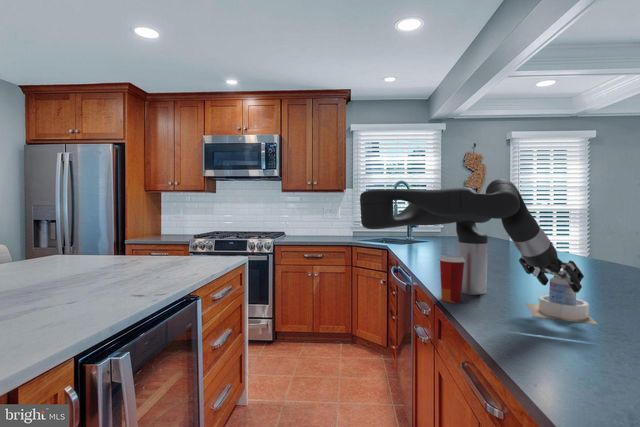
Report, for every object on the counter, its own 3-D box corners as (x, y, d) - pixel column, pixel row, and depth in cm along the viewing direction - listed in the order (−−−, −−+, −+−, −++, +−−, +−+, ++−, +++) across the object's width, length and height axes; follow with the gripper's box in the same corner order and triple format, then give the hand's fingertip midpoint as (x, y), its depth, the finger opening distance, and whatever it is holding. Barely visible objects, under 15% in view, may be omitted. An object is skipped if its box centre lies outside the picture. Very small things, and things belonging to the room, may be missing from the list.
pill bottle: (543, 307, 99) (544, 267, 98) (563, 306, 99) (564, 267, 99) (560, 313, 92) (561, 271, 92) (581, 313, 93) (582, 271, 93)
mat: (533, 318, 93) (533, 316, 93) (525, 304, 106) (525, 302, 105) (597, 326, 87) (597, 324, 87) (581, 310, 100) (581, 308, 100)
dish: (543, 316, 93) (543, 303, 93) (535, 305, 103) (536, 293, 103) (593, 322, 89) (594, 308, 89) (580, 310, 99) (581, 297, 99)
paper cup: (464, 299, 111) (465, 255, 111) (463, 305, 104) (464, 258, 104) (439, 296, 114) (439, 253, 114) (436, 301, 107) (437, 256, 107)
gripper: (501, 251, 95) (529, 290, 100) (553, 259, 82) (582, 304, 87) (516, 232, 97) (543, 271, 102) (569, 237, 84) (597, 281, 88)
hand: (561, 286), depth 94 cm, fingers open, 8 cm apart
